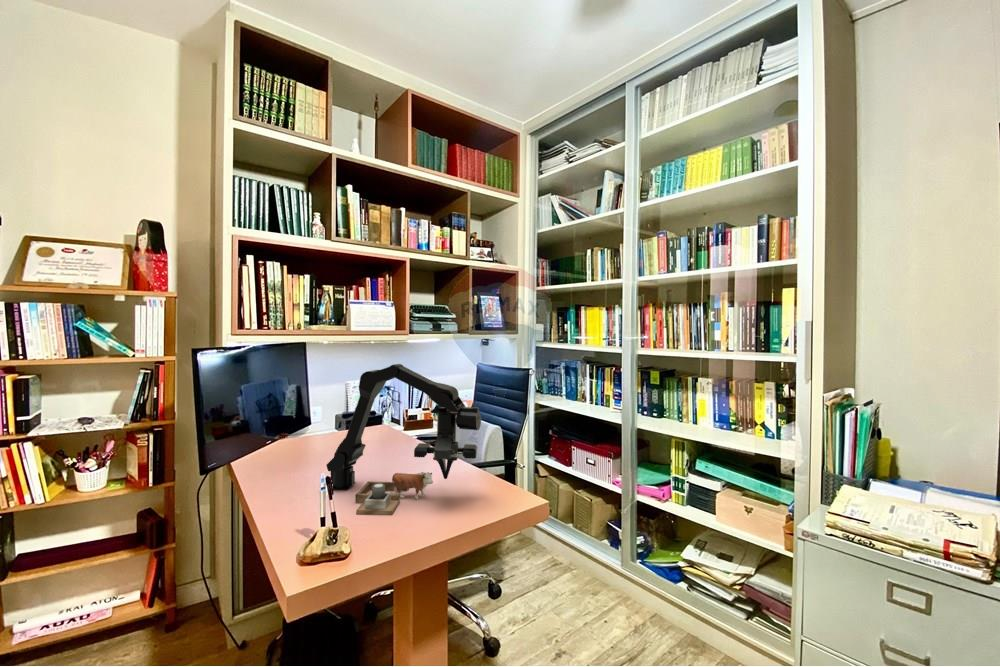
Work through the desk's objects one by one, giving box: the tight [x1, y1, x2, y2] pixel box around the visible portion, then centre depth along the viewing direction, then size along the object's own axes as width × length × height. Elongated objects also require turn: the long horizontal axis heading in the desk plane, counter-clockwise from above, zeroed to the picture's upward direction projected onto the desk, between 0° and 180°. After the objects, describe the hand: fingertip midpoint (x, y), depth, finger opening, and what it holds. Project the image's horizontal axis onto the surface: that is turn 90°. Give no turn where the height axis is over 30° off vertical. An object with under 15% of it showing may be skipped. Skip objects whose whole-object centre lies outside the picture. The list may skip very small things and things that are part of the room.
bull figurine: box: [391, 471, 434, 500], centre depth 126 cm, size 4×13×8 cm, turn 78°
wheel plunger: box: [371, 484, 386, 499], centre depth 117 cm, size 4×4×3 cm
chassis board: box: [354, 480, 409, 516], centre depth 122 cm, size 13×18×4 cm
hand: (445, 478), depth 125 cm, fingers closed
